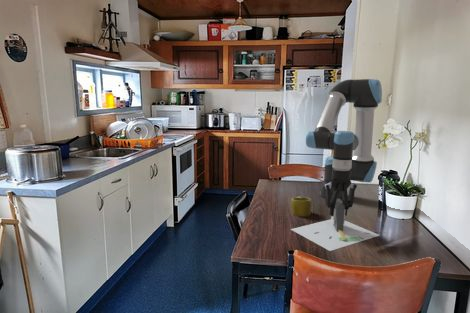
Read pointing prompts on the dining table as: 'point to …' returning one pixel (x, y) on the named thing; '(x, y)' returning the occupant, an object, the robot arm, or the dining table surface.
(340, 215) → the gray bar
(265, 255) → the dining table surface
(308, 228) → the board
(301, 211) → the mug
